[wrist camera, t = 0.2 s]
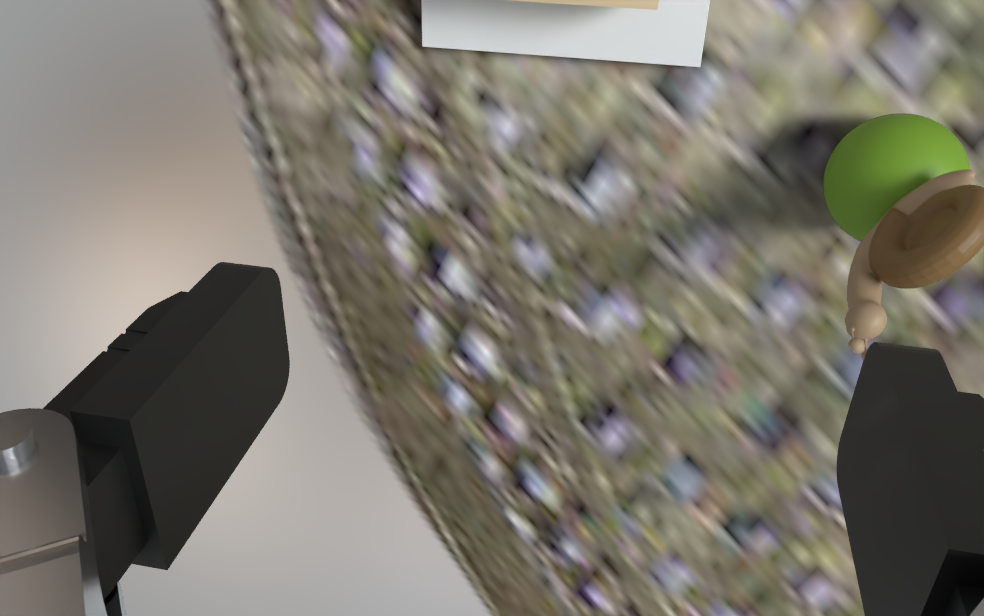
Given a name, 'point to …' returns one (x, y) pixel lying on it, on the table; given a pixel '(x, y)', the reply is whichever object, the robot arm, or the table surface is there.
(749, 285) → the table surface
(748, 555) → the table surface
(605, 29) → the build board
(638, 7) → the oak base block
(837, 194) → the snail figurine
